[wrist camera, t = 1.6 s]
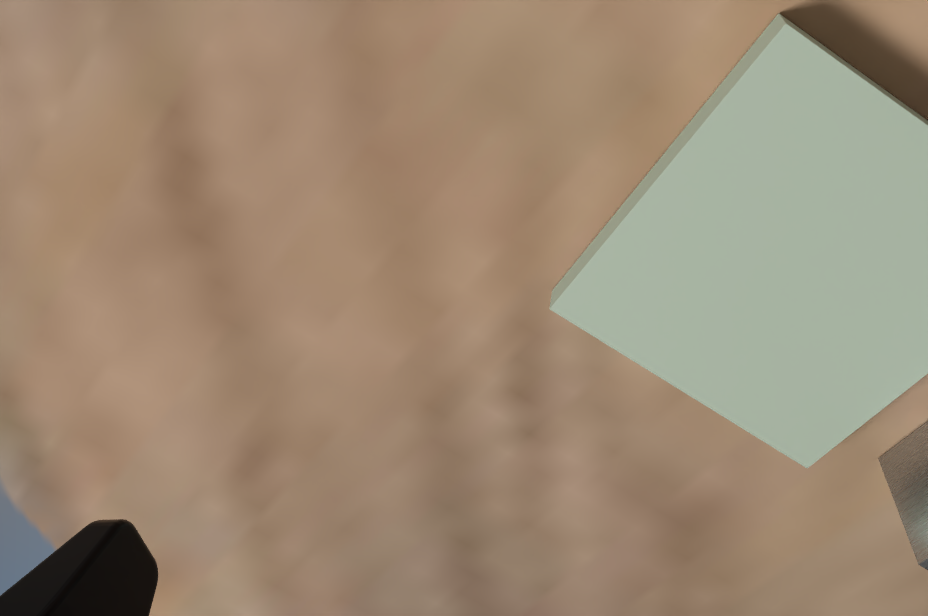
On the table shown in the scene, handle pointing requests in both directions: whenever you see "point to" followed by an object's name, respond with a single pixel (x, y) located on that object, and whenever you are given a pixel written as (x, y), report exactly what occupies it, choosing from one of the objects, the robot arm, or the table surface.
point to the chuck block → (911, 487)
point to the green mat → (774, 251)
